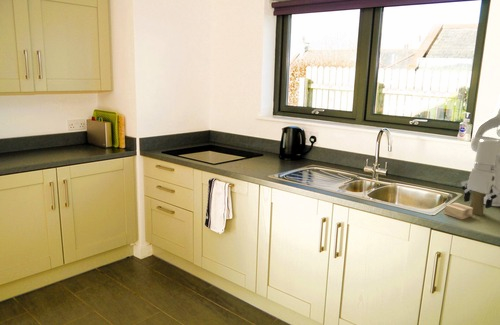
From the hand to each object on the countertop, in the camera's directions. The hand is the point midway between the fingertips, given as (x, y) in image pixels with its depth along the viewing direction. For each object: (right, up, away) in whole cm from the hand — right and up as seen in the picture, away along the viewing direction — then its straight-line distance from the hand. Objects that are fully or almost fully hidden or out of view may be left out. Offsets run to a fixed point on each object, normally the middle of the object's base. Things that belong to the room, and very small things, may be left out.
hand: (477, 204), depth 190 cm
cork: (0, -4, +1) cm, 4 cm away
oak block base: (-10, -4, -3) cm, 11 cm away
